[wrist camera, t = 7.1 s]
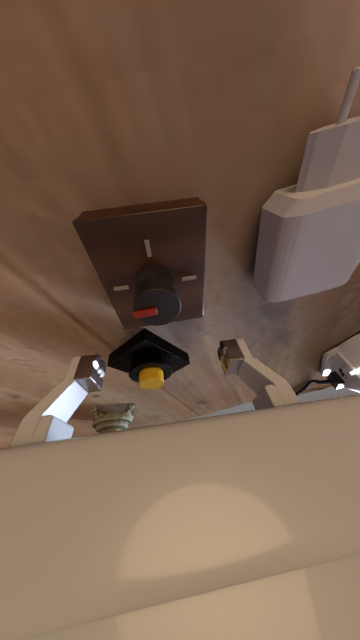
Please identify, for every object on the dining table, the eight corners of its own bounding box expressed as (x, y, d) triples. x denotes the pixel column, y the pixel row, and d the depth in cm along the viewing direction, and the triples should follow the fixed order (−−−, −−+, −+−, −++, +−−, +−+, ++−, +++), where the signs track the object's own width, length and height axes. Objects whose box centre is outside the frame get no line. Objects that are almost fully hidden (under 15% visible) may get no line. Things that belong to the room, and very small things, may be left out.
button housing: (187, 353, 32) (191, 372, 29) (155, 372, 35) (155, 391, 33) (144, 328, 25) (144, 349, 22) (109, 354, 29) (105, 376, 26)
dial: (171, 259, 15) (177, 286, 12) (178, 294, 18) (184, 323, 15) (128, 269, 15) (124, 297, 12) (142, 302, 18) (141, 332, 15)
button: (167, 370, 28) (169, 382, 27) (151, 379, 30) (151, 391, 28) (150, 363, 26) (150, 375, 24) (133, 373, 27) (133, 385, 26)
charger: (412, 51, 11) (320, 263, 21) (268, 98, 11) (249, 282, 22) (532, 4, 7) (352, 283, 18) (320, 75, 8) (268, 305, 19)
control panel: (198, 302, 23) (203, 318, 21) (126, 313, 23) (124, 330, 20) (198, 196, 14) (207, 204, 12) (82, 211, 14) (70, 222, 12)
